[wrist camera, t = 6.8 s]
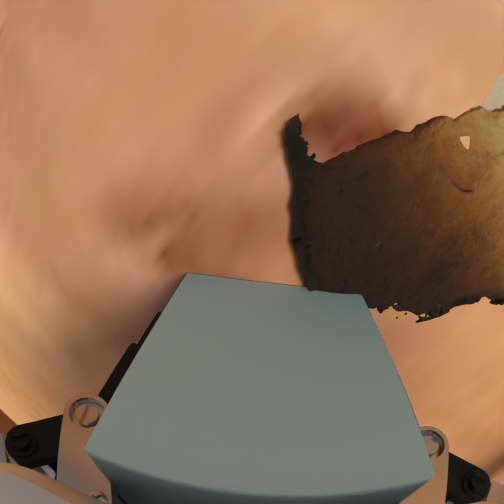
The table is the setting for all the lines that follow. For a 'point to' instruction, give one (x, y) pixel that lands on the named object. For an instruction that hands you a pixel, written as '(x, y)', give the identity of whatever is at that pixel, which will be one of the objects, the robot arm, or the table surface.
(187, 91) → the table surface
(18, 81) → the table surface
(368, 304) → the parchment
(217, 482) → the stub
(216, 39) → the table surface
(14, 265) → the table surface
